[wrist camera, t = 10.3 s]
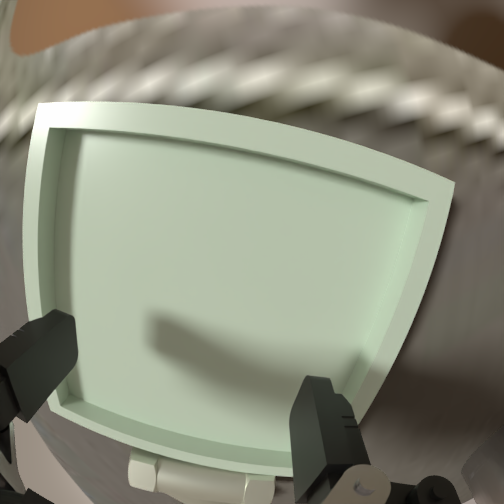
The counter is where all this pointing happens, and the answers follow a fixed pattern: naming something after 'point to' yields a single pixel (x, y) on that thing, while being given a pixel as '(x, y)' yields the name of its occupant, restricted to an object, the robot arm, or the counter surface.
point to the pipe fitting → (197, 481)
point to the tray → (220, 271)
